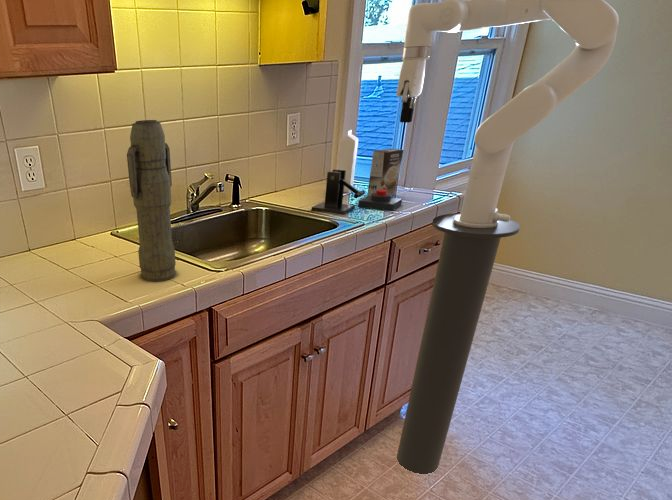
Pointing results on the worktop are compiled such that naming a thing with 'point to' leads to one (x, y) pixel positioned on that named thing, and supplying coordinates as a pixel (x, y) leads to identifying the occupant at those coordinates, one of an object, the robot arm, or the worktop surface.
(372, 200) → the control block
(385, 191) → the setting button
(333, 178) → the black lever stand
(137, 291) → the worktop surface
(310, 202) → the worktop surface
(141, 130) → the grey stone statue
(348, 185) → the lever
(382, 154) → the coffee box
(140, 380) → the worktop surface
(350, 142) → the milk
